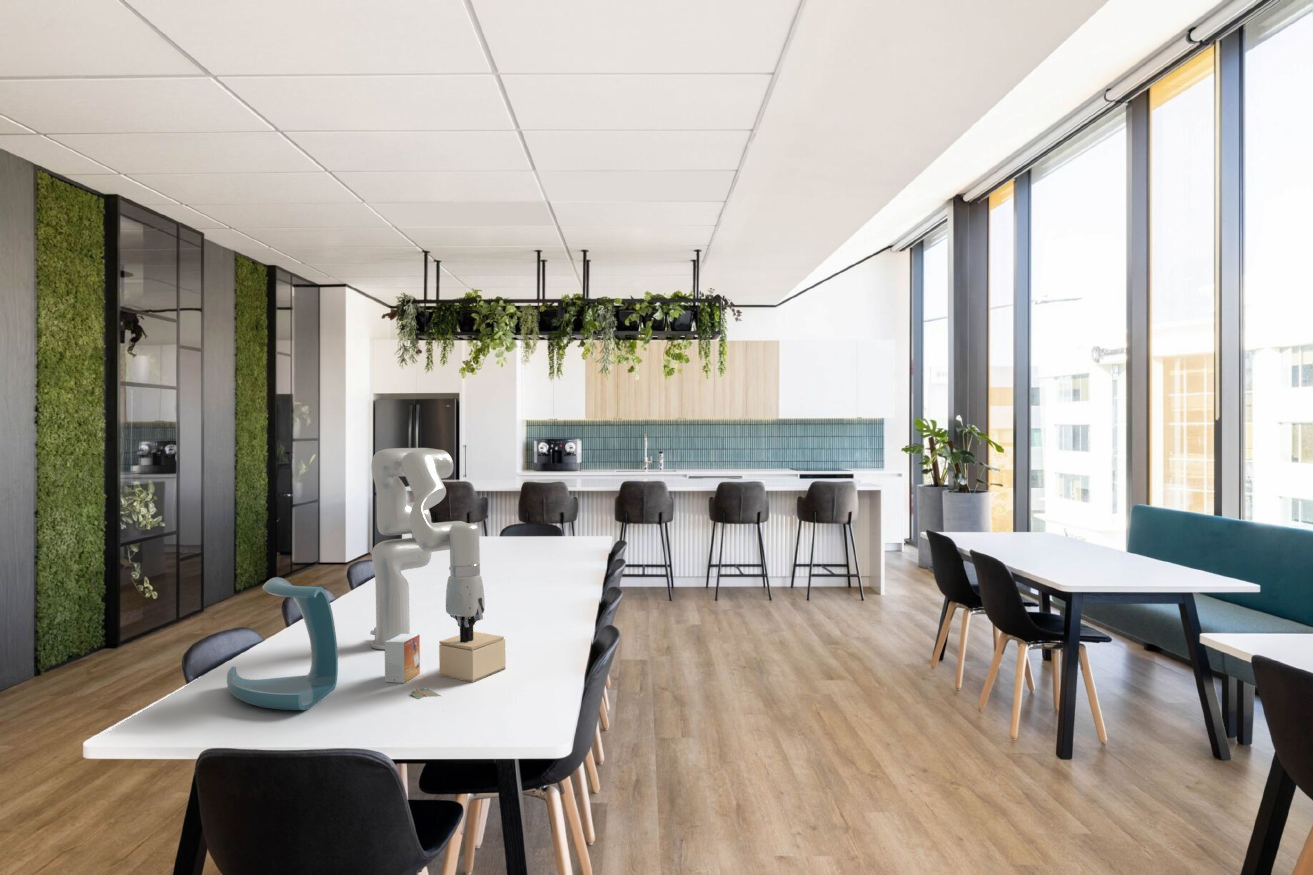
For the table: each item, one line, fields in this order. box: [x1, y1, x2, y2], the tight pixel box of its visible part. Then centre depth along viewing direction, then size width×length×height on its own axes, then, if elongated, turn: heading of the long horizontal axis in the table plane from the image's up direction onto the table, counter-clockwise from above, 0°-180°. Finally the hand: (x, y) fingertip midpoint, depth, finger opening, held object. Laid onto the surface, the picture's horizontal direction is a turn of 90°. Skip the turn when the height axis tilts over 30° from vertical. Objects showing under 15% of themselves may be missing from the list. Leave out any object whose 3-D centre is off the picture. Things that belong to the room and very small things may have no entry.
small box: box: [384, 633, 421, 684], centre depth 188 cm, size 8×6×10 cm
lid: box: [439, 631, 505, 650], centre depth 191 cm, size 12×12×1 cm
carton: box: [438, 638, 506, 683], centre depth 191 cm, size 12×12×8 cm
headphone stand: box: [226, 576, 339, 711], centre depth 176 cm, size 26×28×28 cm
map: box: [410, 687, 442, 700], centre depth 170 cm, size 5×20×1 cm, turn 46°
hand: (466, 641), depth 189 cm, fingers closed
